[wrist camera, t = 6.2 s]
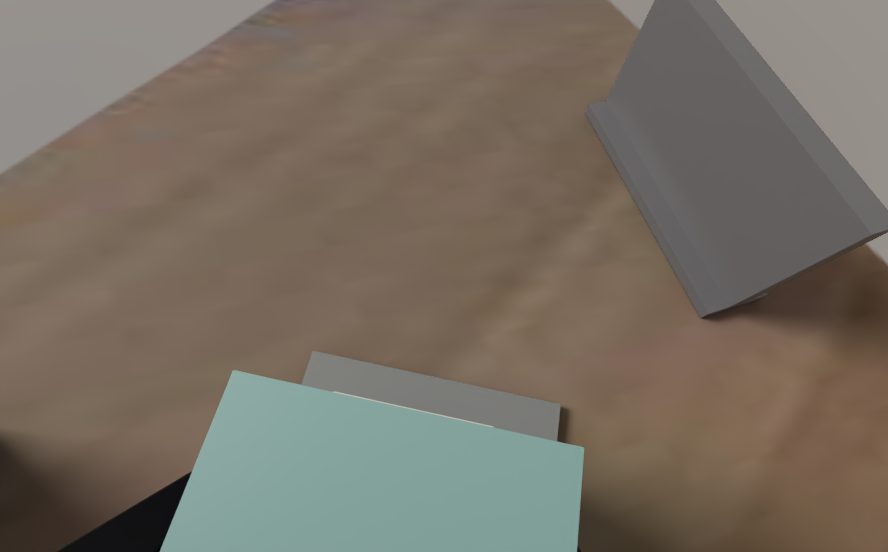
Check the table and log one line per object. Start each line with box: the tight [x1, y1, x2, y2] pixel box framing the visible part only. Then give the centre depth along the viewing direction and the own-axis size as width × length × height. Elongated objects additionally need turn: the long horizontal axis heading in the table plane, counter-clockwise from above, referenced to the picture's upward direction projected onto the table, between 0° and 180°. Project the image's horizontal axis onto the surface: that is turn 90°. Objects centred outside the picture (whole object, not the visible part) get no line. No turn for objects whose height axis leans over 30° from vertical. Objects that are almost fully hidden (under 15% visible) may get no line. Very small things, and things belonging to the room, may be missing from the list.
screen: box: [585, 0, 888, 318], centre depth 18 cm, size 12×3×7 cm, turn 17°
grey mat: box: [301, 351, 561, 441], centre depth 15 cm, size 10×10×1 cm
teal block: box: [160, 370, 584, 552], centre depth 10 cm, size 6×6×9 cm
